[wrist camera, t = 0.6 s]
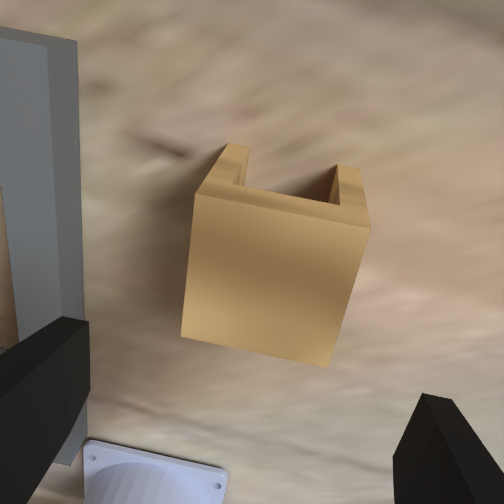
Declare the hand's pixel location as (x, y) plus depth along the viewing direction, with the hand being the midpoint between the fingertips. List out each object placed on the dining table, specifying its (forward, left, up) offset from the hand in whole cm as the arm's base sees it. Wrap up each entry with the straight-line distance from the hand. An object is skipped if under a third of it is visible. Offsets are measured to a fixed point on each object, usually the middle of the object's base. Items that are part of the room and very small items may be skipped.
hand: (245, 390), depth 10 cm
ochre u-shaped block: (0, 0, -9) cm, 9 cm away
